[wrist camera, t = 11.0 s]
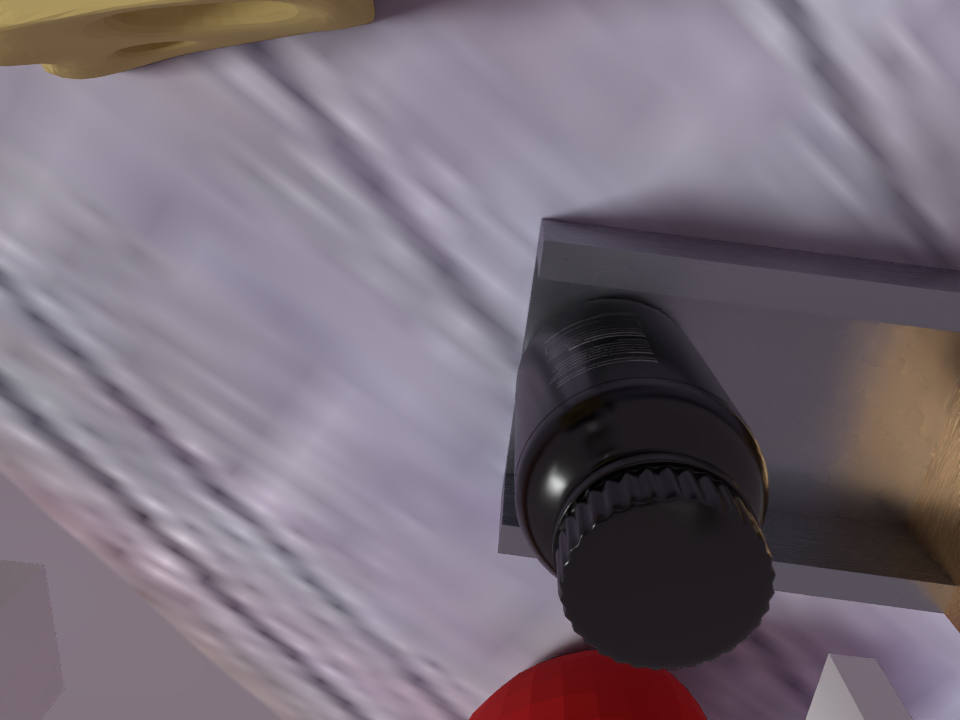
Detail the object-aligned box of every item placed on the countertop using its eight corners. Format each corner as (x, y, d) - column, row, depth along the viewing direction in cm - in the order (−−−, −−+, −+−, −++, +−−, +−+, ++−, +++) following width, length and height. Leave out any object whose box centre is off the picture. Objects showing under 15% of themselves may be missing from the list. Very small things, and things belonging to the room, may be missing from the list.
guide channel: (501, 494, 29) (495, 589, 24) (541, 218, 25) (545, 254, 20) (919, 550, 29) (1013, 660, 23) (1029, 279, 25) (1174, 333, 19)
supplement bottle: (495, 436, 28) (473, 664, 17) (545, 272, 25) (558, 410, 14) (662, 481, 28) (751, 736, 17) (728, 322, 26) (882, 497, 14)
